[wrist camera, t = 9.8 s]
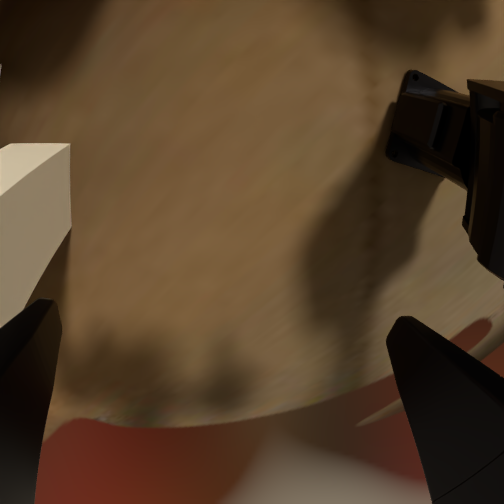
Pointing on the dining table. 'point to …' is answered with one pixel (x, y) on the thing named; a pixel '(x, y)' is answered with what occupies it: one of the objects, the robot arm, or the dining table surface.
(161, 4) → the dining table surface
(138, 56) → the dining table surface
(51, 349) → the robot arm
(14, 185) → the carton
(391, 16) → the dining table surface
